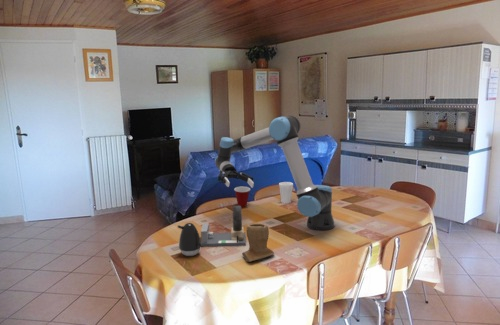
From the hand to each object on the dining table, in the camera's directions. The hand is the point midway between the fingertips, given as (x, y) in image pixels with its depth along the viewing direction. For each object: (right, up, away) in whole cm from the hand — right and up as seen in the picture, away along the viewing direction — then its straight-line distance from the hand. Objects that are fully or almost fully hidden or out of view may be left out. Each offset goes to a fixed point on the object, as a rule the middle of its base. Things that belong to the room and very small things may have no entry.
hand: (241, 185), depth 194 cm
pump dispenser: (-24, -32, -18) cm, 43 cm away
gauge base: (-8, -28, -3) cm, 29 cm away
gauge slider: (-2, -27, -5) cm, 27 cm away
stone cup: (+8, -32, -22) cm, 39 cm away
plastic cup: (0, -17, +56) cm, 58 cm away
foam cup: (+29, -16, +63) cm, 71 cm away
